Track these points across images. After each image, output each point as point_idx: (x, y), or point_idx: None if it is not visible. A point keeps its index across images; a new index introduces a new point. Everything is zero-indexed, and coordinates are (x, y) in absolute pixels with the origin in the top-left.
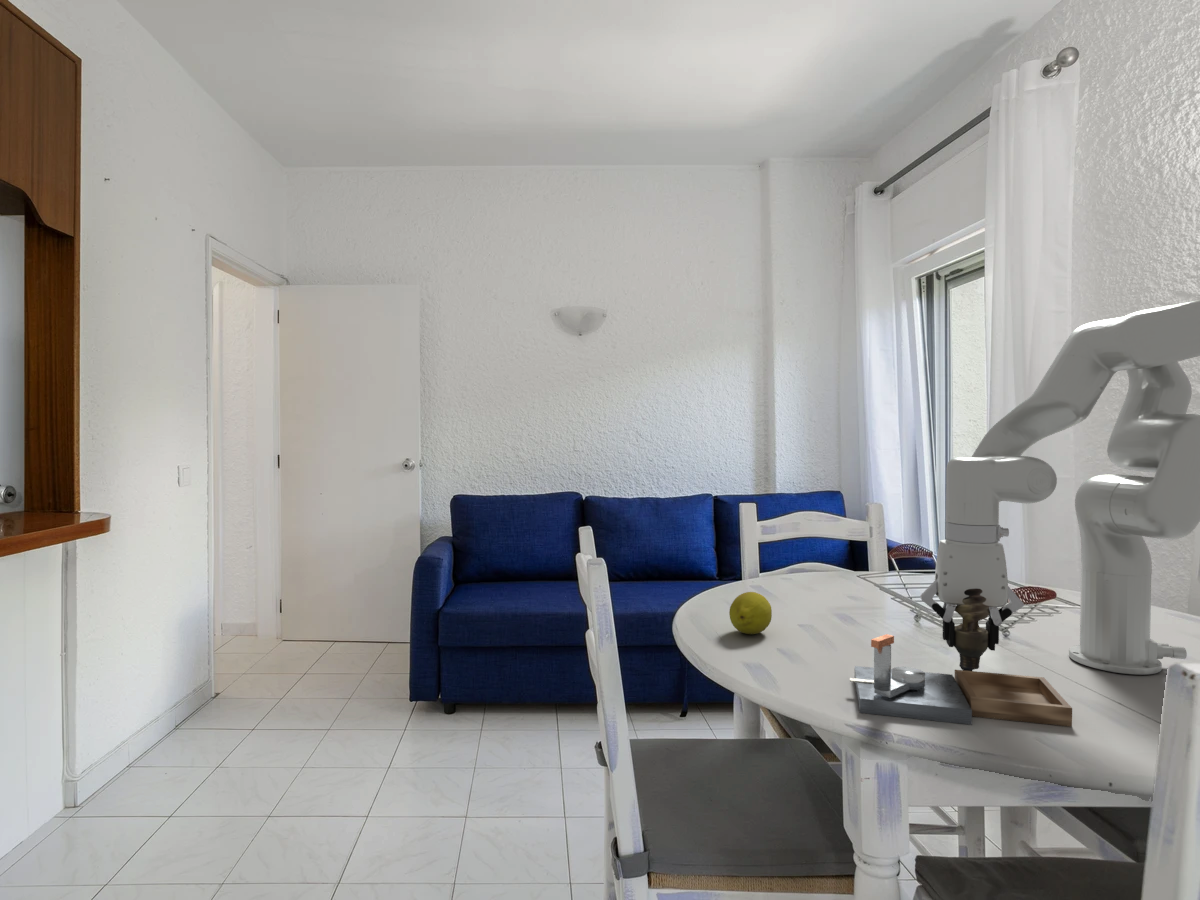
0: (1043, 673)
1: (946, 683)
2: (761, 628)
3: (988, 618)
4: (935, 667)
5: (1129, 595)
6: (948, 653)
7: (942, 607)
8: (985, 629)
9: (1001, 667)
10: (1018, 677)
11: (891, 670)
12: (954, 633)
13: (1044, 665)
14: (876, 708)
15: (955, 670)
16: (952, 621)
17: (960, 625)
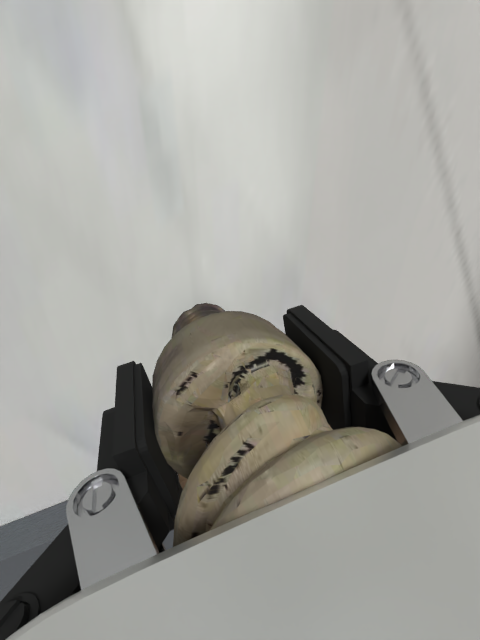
0: (405, 191)
1: (171, 547)
2: None
3: (366, 405)
4: (85, 325)
5: None
6: (79, 71)
7: (75, 554)
8: (316, 402)
9: (295, 193)
10: (332, 429)
11: (4, 567)
12: (173, 471)
13: (435, 78)
14: None
15: (182, 487)
16: (166, 511)
17: (196, 409)
